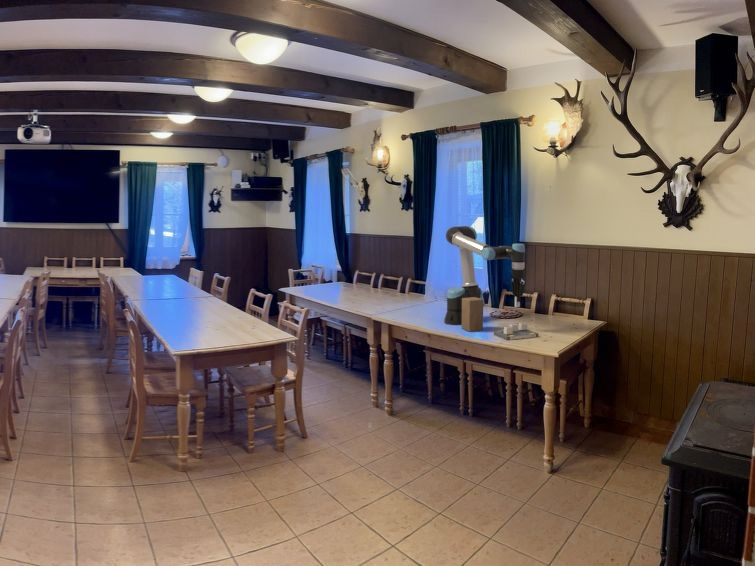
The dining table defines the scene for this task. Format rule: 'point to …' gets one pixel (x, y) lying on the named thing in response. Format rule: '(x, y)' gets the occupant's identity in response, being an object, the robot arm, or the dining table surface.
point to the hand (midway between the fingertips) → (517, 306)
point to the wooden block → (472, 314)
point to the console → (516, 334)
